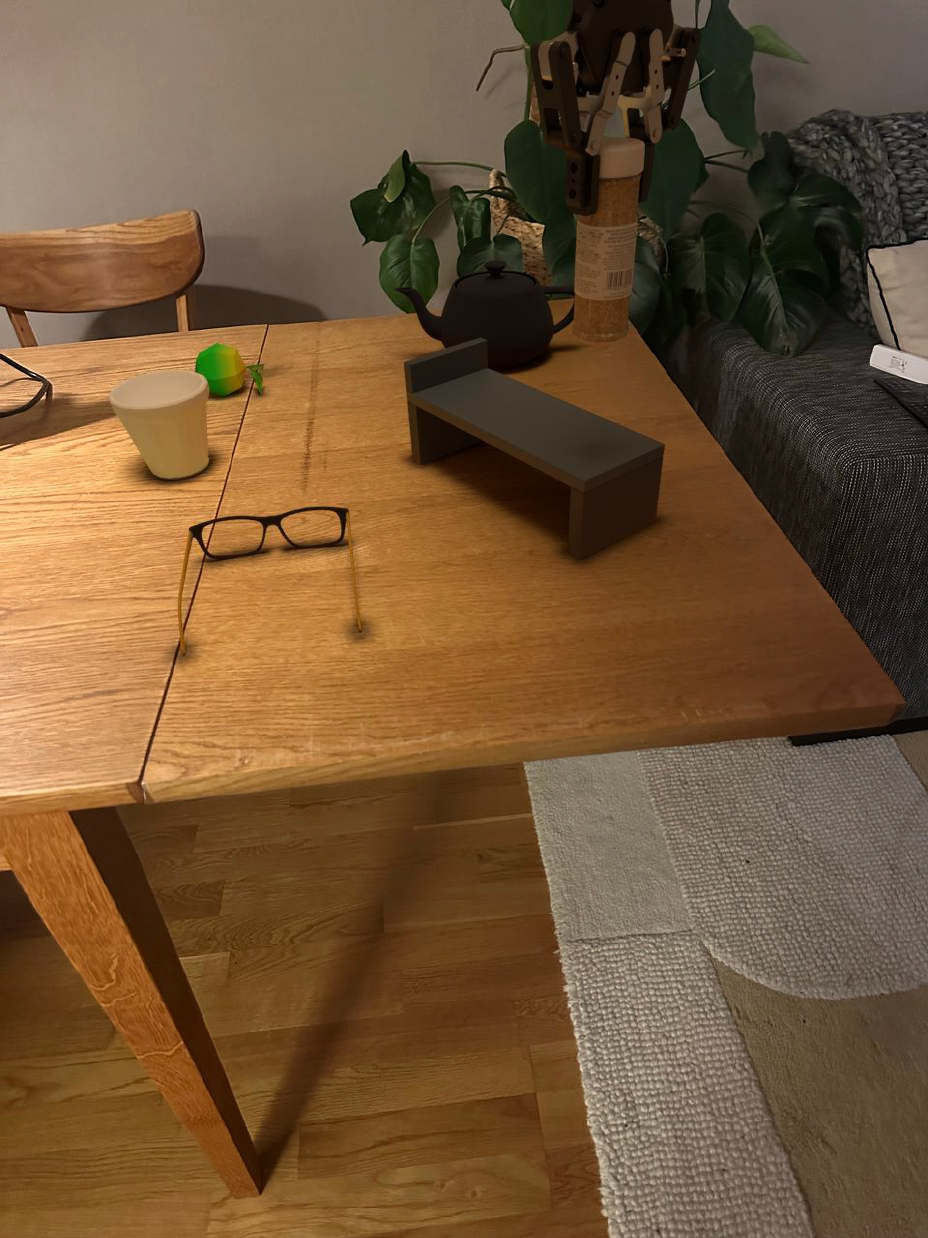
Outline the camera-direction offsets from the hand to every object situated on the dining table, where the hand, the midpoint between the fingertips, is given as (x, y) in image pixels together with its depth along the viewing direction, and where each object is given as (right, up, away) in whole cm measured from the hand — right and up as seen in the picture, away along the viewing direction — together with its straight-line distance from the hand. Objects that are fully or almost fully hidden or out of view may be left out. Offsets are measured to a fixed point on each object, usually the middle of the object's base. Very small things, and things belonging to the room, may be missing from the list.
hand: (608, 206), depth 58 cm
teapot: (-7, +6, +54) cm, 54 cm away
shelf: (-5, -16, +25) cm, 30 cm away
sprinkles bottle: (0, -7, +6) cm, 10 cm away
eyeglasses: (-27, -28, +12) cm, 40 cm away
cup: (-42, -13, +31) cm, 54 cm away
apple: (-40, 0, +48) cm, 62 cm away
